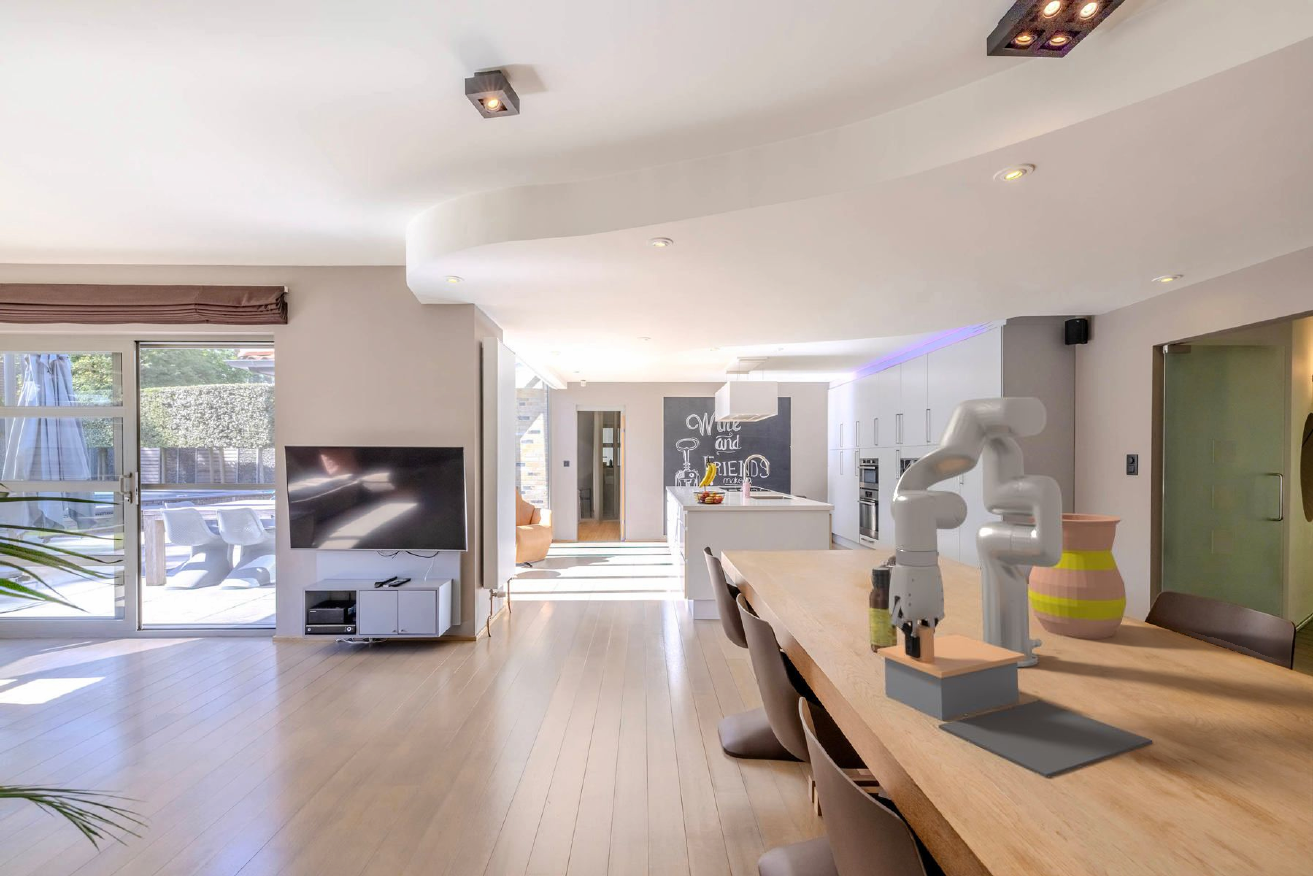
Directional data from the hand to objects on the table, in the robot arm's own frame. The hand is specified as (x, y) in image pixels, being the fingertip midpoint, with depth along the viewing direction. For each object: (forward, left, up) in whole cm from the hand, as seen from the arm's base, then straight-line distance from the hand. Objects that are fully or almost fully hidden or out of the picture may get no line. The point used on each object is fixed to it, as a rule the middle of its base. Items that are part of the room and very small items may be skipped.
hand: (919, 654), depth 127 cm
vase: (-76, -20, -10) cm, 79 cm away
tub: (-8, 0, -10) cm, 13 cm away
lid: (-8, 0, -3) cm, 9 cm away
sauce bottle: (-19, -30, -10) cm, 37 cm away
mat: (-8, +19, -10) cm, 23 cm away
